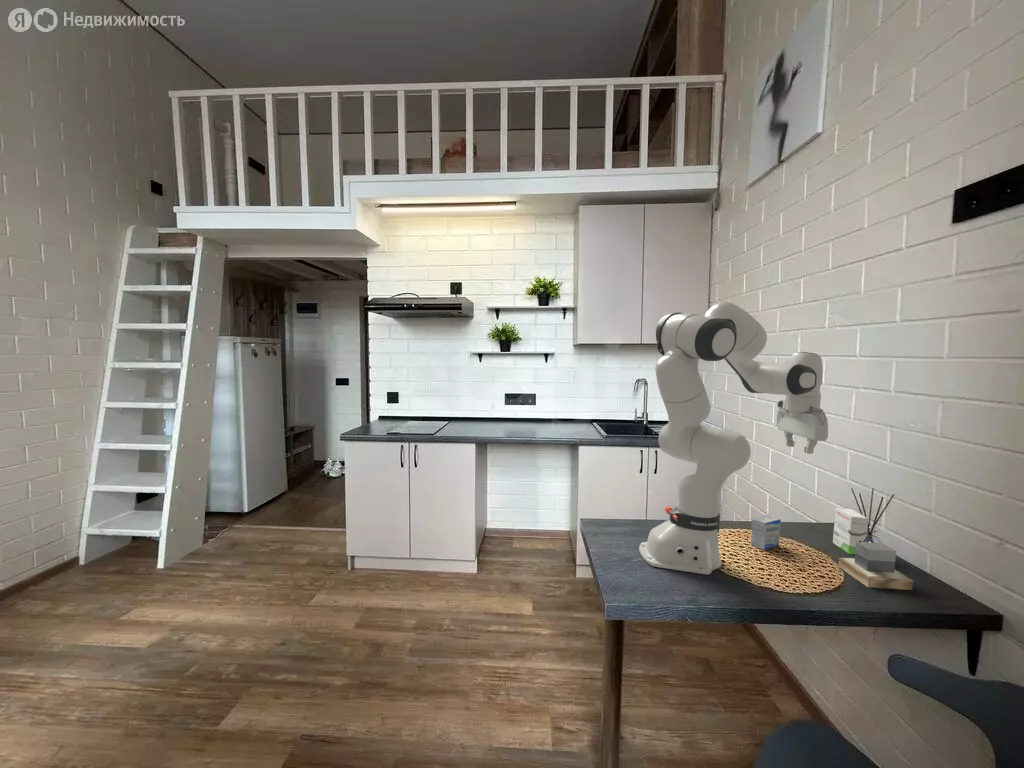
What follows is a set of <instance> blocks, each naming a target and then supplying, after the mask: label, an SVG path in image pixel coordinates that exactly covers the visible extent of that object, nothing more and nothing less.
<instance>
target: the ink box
mask: <svg viewBox="0 0 1024 768" xmlns="http://www.w3.org/2000/svg"><path fill="white" fill-rule="evenodd" d="M834 511H835V512H834V514H835V515H834V524H833V525H834V526H833V537H832V538H833V539H832V543H833V544H834V545H835V546H837V547H838V548H840V549H841V550H842V551H844V552H845V553H847V554H849V555H854V556H855V549H856V542H859V541H861V540H863V539H864V538H866V536H867V537H868V527H869V526H868V525H869V518H868V517H866V516H864V515H863V514H861V513H859V512H857V511H855V510H853V508H852V509H851V508H843V507H836V508H835V510H834Z"/></svg>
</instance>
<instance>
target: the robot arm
mask: <svg viewBox="0 0 1024 768" xmlns="http://www.w3.org/2000/svg"><path fill="white" fill-rule="evenodd" d="M655 340H656V343H657V344H656V345H657V346H656V347H657V350H658V352H659V353H660V354H661V355H662V357H660V358H659V359H658V360H657V362H656V364H655V377H656V382H657V385H658V390H659V393H660V396H661V399H662V401H663V404H664V407H665V410H666V414H667V416H668V417H667V419H668V422H667V423H666V424H665V425H663V427H662V428H661V429H660V432H659V434H658V445H659V448H660V450H661V451H662V452H663V453H664V454H667V455H668V456H671V457H673V458H675V459H678V460H682V461H686V462H688V463H693V464H696V471H695V473H693V474H689V475H687V476H685V477H683V478H682V479H680V481H679V483H678V485H677V501H676V503H677V504H676V507H674V508H672V507H671V506H669V505H666V506H665V507H664V511H665V513H666V514H668V515H669V519H668V520H667V519H666V520H665V521H663V522H662V523H660V524H659V525H656V526H654V527H653V528H651V530H650V531H649V534H648V538H647V540H646V541H642V542H641V543H640V544H639V547H638V550H639V553H640V556H641V557H642V558H643V560H644V561H645V562H646V563H647V564H649V565H650V566H651V567H654V568H655V567H657V568H660V569H667V570H669V569H670V570H675V571H682V572H689V573H695V574H700V575H701V574H702V575H710V574H712V573H713V571H715V570H718V569H719V568H721V566H722V565H723V564H722V563H723V562H722V559H721V556H720V549H719V547H720V546H719V533H720V528H721V527H720V526H721V515H720V513H719V510H720V501H721V494H722V488H723V486H724V484H725V482H726V481H727V479H728V478H729V477H730V476H731V475H732V474H733V473H735V472H738V471H740V470H741V469H743V468H744V467H745V466H746V465H747V463H749V460H750V458H751V446H750V442H749V440H748V439H747V438H746V437H745V436H744V435H742V434H739V433H736V432H734V431H731V430H728V429H725V428H724V429H723V428H718V427H713V426H712V427H711V426H705V425H703V424H702V422H704V421H706V420H707V418H708V417H709V415H710V412H711V407H712V406H711V402H710V400H709V397H708V393H707V391H706V387H705V385H704V382H703V379H702V376H701V374H700V372H699V361H700V360H702V361H704V362H718V361H719V362H720V361H722V360H725V361H726V363H727V364H728V366H730V367H731V369H732V370H733V371H734V372H735V373H736V375H737V376H738V377H739V379H740V381H741V384H742V385H743V387H744V388H745V389H746V391H748V392H749V393H751V394H770V395H779V396H780V395H781V396H782V395H783V396H785V398H782V399H781V400H780V399H779V400H777V402H776V408H778V409H777V411H776V428H777V430H779V431H781V432H782V431H783V435H784V438H785V446H786V447H789V448H794V447H795V443H796V441H794V437H793V436H794V435H795V436H799V437H802V438H805V439H806V442H807V444H806V446H804V450H803V451H804V453H806V454H809V455H810V454H811V455H812V454H814V449H815V448H816V445H817V444H818V442H825V441H827V439H828V438H829V421H828V417H827V415H826V413H825V412H824V410H823V409H822V408H821V404H822V403H821V401H822V394H821V386H822V384H823V374H824V373H823V371H824V367H823V359H822V357H821V355H819V354H817V353H815V352H808V351H807V352H806V351H798V352H793V353H792V354H791V357H790V359H789V360H787V361H785V362H766V361H765V362H764V361H757V360H753V359H755V358H756V357H757V356H759V355H760V354H761V353H762V351H763V350H764V349H765V347H766V344H767V340H768V335H767V332H766V330H765V328H764V327H763V326H762V324H761V323H760V322H759V321H758V320H757V319H756V318H754V316H752V315H751V313H749V312H747V310H745V309H743V308H741V307H740V306H738V305H736V304H735V303H733V302H730V301H729V302H728V301H723V302H717V303H716V304H714V305H712V306H711V307H710V308H708V310H706V312H705V314H704V315H701V314H698V313H683V312H672V313H668V314H666V315H663V316H662V318H660V320H659V321H658V323H657V326H656V329H655Z"/></svg>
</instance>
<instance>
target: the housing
mask: <svg viewBox="0 0 1024 768" xmlns="http://www.w3.org/2000/svg"><path fill="white" fill-rule="evenodd" d="M896 557H897V550H896V549H894V548H892V547H890V546H889V545H886V544H885V543H881V542H880V543H879V542H856V549H855V555H854V559H855V560H854V563H855V564H857V565H858V566H860V567H861V568H863V569H864V570H866V571H875V572H892V573H894V570H896V569H895V568H896Z"/></svg>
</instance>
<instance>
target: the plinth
mask: <svg viewBox="0 0 1024 768" xmlns="http://www.w3.org/2000/svg"><path fill="white" fill-rule="evenodd" d="M854 560H855V557H854V558H851V557H839V558H838V563H837V565H838V566H837V567H838V568H840V569H842V570H843V571H844V572H845V573H847V574H848V575H850V576H851V577H852V578H854V579H855V580H857V581H859V583H861V584H863V585H864V586H866V588H873V589H874V588H875V589H887V590H888V589H892V590H907V591H908V590H909V591H912V590H913V586H914V580H913V579H911V578H909V577H908V576H906V575H905V574H903V573H901V572H900V571H898V570H896V569H895V570H894V573H892V572H875V571H866V570H864V569H863V568H861V567H860V566H858V565H857V564H855V563H854Z"/></svg>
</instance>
